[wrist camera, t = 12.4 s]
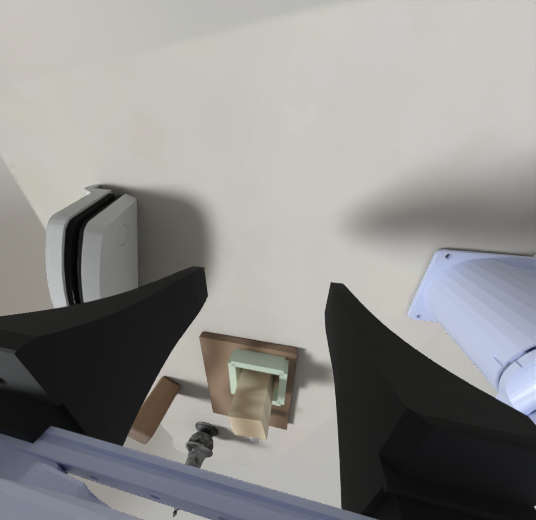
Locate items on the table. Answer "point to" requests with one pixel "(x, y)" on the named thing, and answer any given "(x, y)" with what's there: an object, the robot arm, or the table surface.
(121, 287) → the white rounded block
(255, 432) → the maple peg
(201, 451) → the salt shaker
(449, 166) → the table surface
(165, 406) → the wooden block
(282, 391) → the socket collar
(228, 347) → the walnut board
